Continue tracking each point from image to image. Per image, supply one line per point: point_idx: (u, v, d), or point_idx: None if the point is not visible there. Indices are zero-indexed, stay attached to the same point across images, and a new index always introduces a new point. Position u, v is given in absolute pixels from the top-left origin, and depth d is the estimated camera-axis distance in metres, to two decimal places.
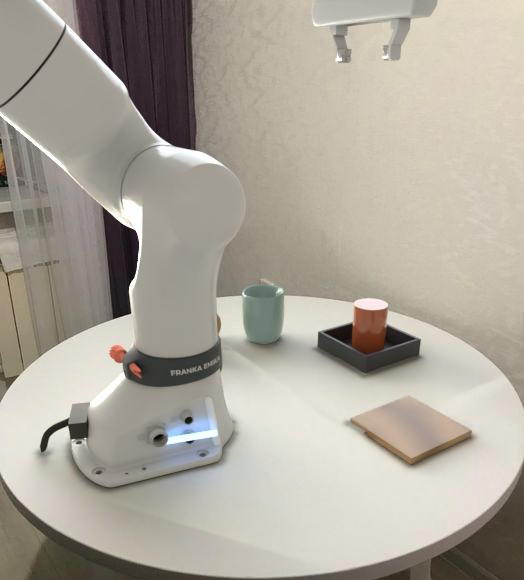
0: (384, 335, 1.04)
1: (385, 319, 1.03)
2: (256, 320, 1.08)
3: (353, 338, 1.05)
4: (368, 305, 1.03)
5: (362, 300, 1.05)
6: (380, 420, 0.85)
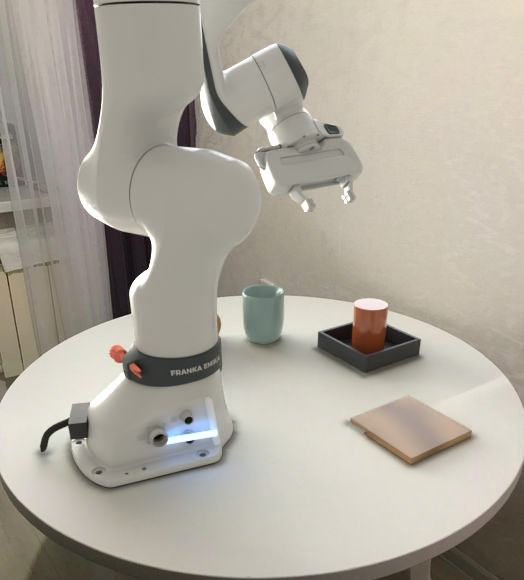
0: (384, 335, 1.04)
1: (385, 319, 1.03)
2: (256, 320, 1.08)
3: (353, 338, 1.05)
4: (368, 305, 1.03)
5: (362, 300, 1.05)
6: (380, 420, 0.85)
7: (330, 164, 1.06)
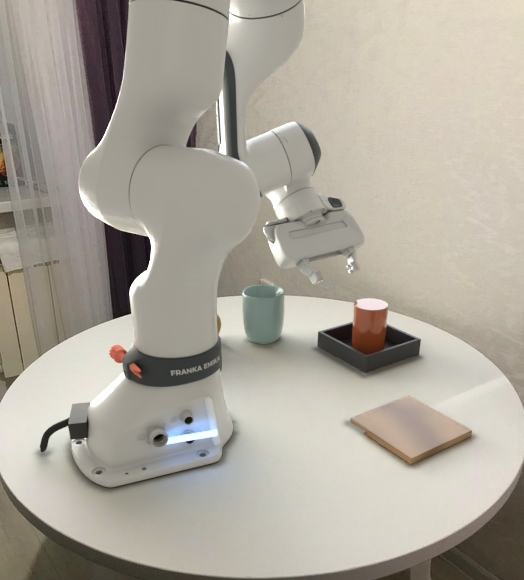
0: (384, 335, 1.04)
1: (385, 319, 1.03)
2: (256, 320, 1.08)
3: (353, 338, 1.05)
4: (368, 305, 1.03)
5: (362, 300, 1.05)
6: (380, 420, 0.85)
7: (335, 237, 1.10)
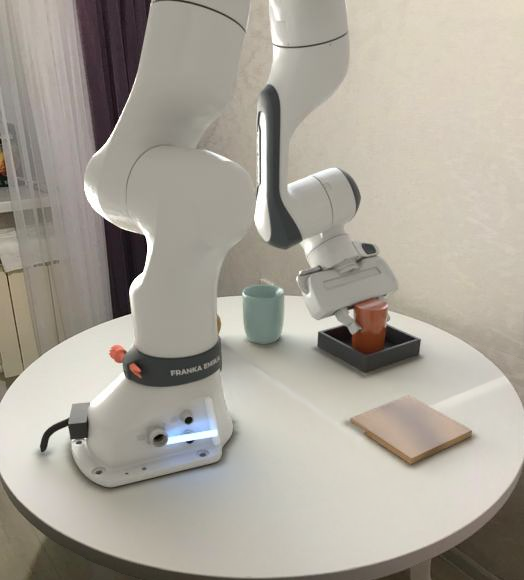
0: (384, 335, 1.04)
1: (385, 319, 1.03)
2: (256, 320, 1.08)
3: (353, 338, 1.05)
4: (368, 305, 1.03)
5: None
6: (380, 420, 0.85)
7: (369, 285, 1.06)
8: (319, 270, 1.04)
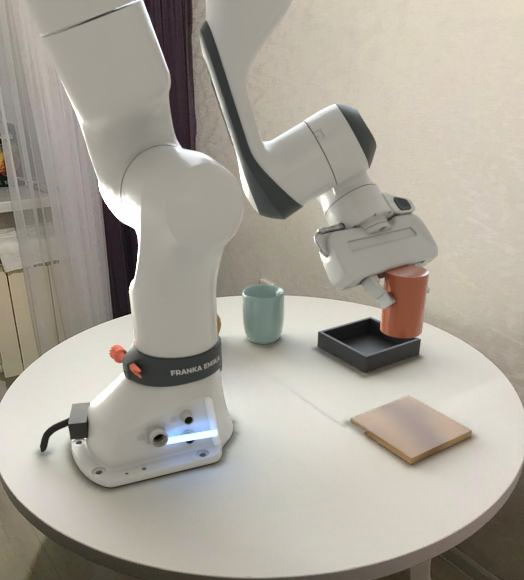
0: (423, 310, 0.83)
1: (425, 290, 0.81)
2: (256, 320, 1.08)
3: (384, 314, 0.84)
4: (404, 272, 0.81)
5: None
6: (380, 420, 0.85)
7: (403, 248, 0.85)
8: (342, 228, 0.83)
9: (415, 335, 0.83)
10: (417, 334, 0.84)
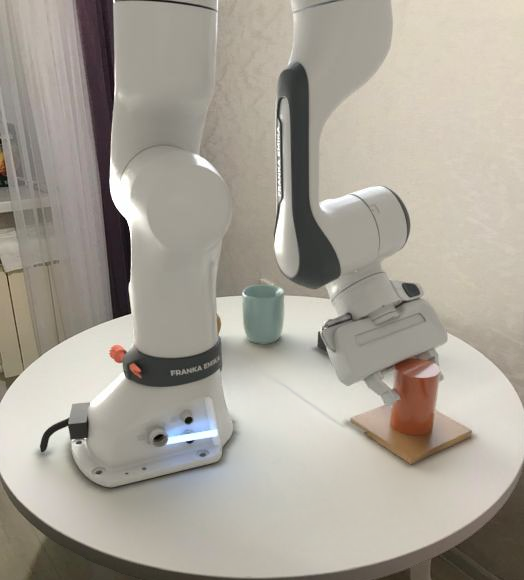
0: (434, 407, 0.81)
1: (436, 388, 0.79)
2: (256, 320, 1.08)
3: (394, 410, 0.82)
4: (414, 370, 0.79)
5: (405, 361, 0.82)
6: (380, 420, 0.85)
7: (412, 337, 0.83)
8: (349, 319, 0.81)
9: (426, 432, 0.81)
10: (428, 431, 0.82)
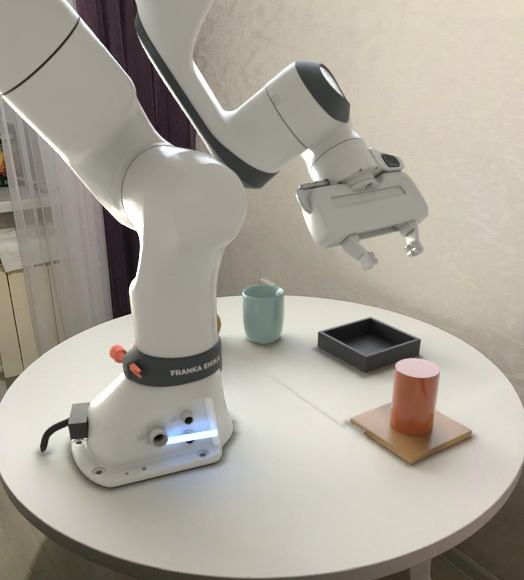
0: (434, 407, 0.81)
1: (436, 388, 0.79)
2: (256, 320, 1.08)
3: (394, 410, 0.82)
4: (414, 370, 0.79)
5: (405, 361, 0.82)
6: (380, 420, 0.85)
7: (391, 207, 0.81)
8: (326, 185, 0.79)
9: (426, 432, 0.81)
10: (428, 431, 0.82)
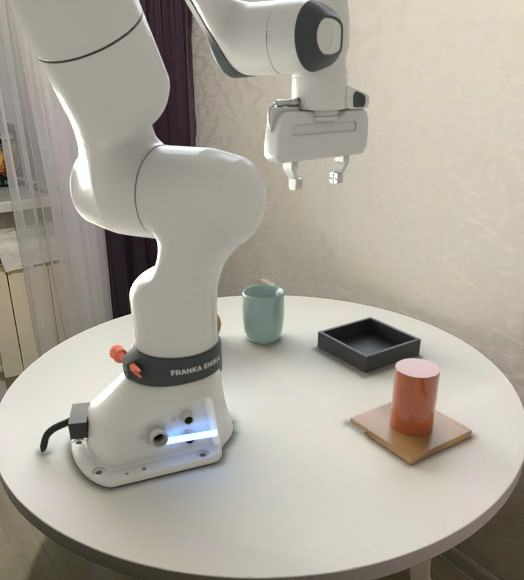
0: (434, 407, 0.81)
1: (436, 388, 0.79)
2: (256, 320, 1.08)
3: (394, 410, 0.82)
4: (414, 370, 0.79)
5: (405, 361, 0.82)
6: (380, 420, 0.85)
7: (337, 142, 0.97)
8: (297, 105, 0.91)
9: (426, 432, 0.81)
10: (428, 431, 0.82)
